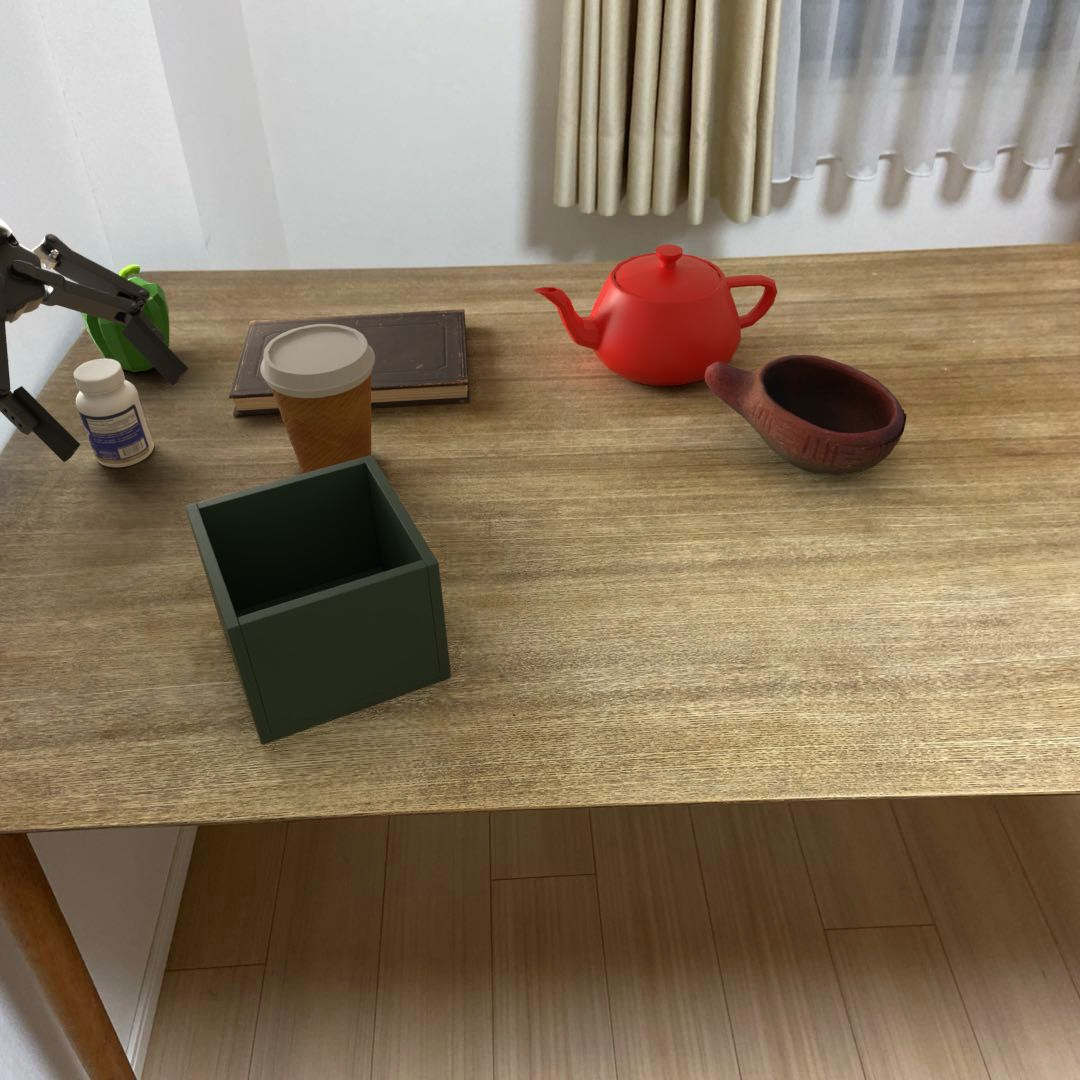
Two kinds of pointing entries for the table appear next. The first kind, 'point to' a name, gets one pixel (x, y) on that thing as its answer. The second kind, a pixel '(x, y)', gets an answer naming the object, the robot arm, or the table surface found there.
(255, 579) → the waste bin
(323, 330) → the disposable coffee cup
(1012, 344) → the table surface
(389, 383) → the hardcover book
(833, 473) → the bowl
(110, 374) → the pill bottle
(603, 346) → the teapot
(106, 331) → the bell pepper
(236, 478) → the table surface
